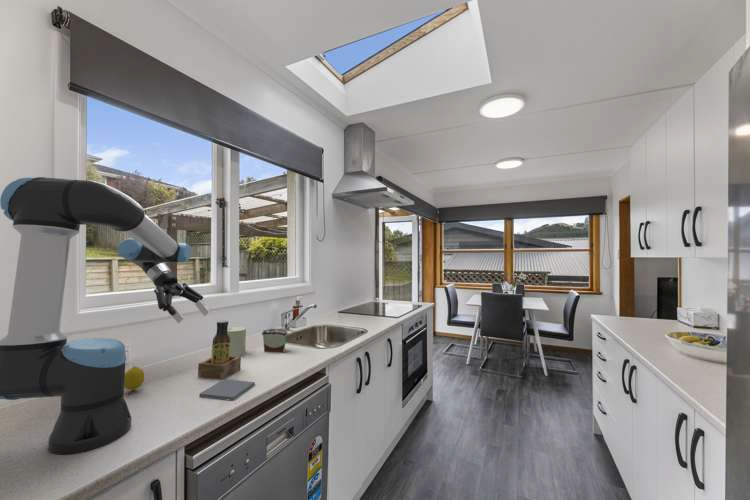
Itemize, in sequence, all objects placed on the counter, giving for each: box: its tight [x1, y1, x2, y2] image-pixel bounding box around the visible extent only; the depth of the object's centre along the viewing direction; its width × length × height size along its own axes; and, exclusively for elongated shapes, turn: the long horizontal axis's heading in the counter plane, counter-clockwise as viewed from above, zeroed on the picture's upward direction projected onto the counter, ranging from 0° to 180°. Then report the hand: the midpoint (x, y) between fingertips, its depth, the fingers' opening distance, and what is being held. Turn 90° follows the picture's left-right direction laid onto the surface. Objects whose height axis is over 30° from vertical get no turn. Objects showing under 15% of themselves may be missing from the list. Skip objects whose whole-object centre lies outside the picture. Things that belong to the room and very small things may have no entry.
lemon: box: [124, 366, 145, 392], centre depth 101 cm, size 6×6×8 cm
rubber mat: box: [198, 378, 256, 401], centre depth 103 cm, size 12×12×1 cm
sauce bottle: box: [210, 319, 230, 364], centre depth 118 cm, size 6×6×20 cm
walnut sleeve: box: [197, 356, 242, 380], centre depth 118 cm, size 10×10×5 cm
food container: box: [261, 328, 288, 354], centre depth 147 cm, size 12×6×10 cm, turn 84°
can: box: [227, 326, 247, 357], centre depth 141 cm, size 9×9×12 cm
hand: (194, 316), depth 121 cm, fingers open, 13 cm apart
